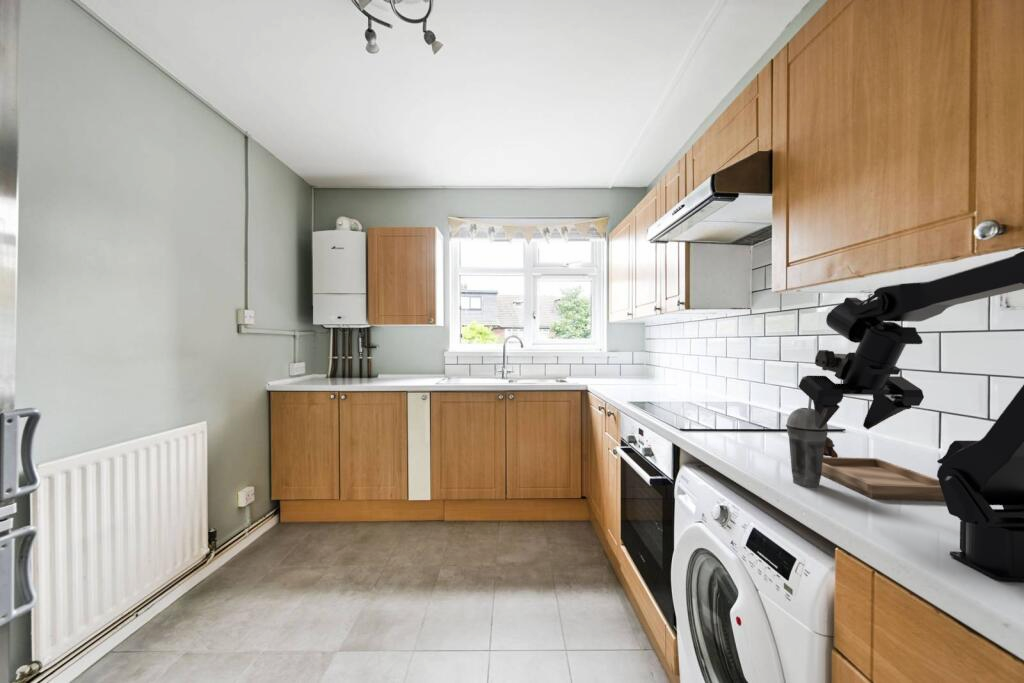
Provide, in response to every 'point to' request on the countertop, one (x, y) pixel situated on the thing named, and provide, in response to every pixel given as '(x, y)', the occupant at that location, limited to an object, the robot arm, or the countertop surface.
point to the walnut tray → (881, 479)
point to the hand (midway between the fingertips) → (841, 427)
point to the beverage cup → (806, 446)
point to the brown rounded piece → (829, 448)
